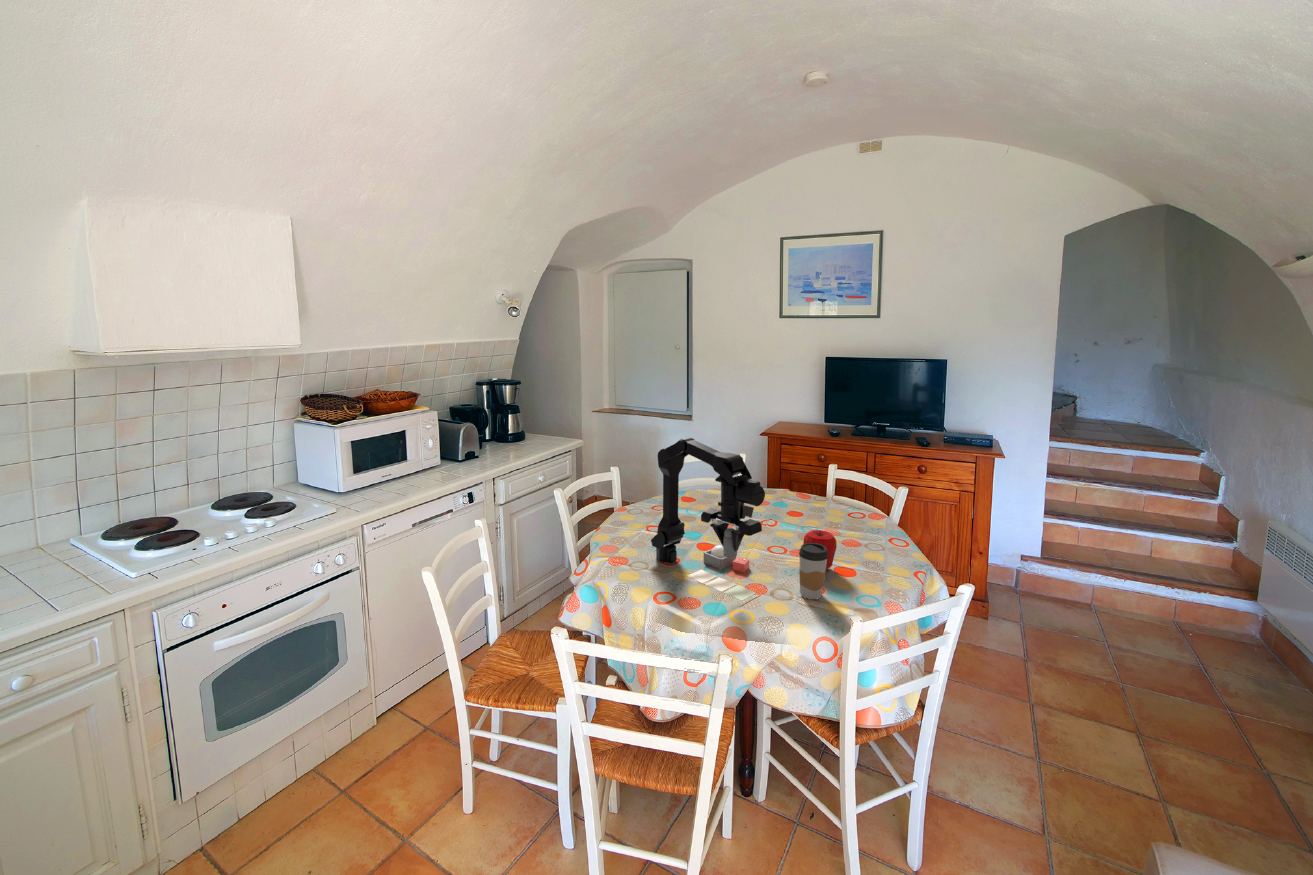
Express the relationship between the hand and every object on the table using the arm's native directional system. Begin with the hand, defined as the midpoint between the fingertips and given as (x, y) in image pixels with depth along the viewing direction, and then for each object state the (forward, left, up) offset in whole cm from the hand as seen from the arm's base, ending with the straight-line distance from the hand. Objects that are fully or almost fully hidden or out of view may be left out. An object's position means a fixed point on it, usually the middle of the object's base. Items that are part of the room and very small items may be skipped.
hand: (730, 548), depth 178 cm
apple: (+10, +33, -14) cm, 37 cm away
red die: (-6, +13, -14) cm, 20 cm away
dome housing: (-14, +12, -14) cm, 23 cm away
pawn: (0, 0, -2) cm, 2 cm away
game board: (-3, 0, -14) cm, 14 cm away
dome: (-14, +12, -13) cm, 22 cm away
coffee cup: (+18, +16, -14) cm, 28 cm away
